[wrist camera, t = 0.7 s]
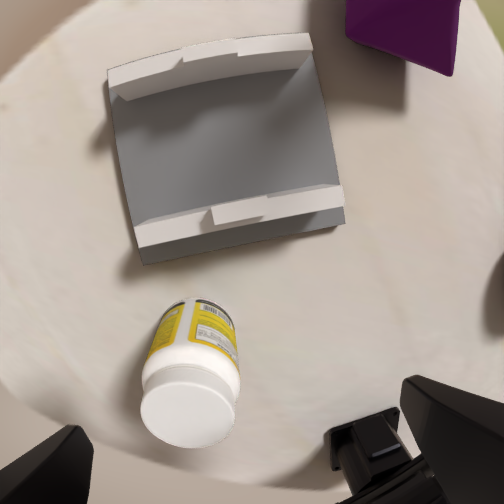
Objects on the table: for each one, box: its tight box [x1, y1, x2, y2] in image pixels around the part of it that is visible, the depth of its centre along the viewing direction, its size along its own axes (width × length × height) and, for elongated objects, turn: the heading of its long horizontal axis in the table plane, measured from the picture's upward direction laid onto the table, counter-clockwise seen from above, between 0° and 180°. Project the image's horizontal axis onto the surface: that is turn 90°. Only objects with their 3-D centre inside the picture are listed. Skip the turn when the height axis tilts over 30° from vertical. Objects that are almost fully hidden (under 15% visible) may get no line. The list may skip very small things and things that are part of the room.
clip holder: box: [107, 33, 345, 265], centre depth 15 cm, size 12×12×5 cm
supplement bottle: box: [140, 298, 241, 448], centre depth 15 cm, size 5×5×8 cm
